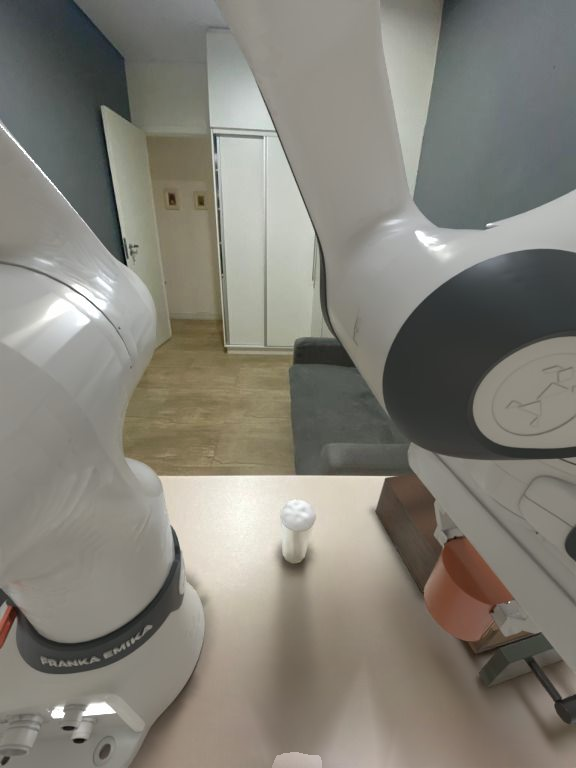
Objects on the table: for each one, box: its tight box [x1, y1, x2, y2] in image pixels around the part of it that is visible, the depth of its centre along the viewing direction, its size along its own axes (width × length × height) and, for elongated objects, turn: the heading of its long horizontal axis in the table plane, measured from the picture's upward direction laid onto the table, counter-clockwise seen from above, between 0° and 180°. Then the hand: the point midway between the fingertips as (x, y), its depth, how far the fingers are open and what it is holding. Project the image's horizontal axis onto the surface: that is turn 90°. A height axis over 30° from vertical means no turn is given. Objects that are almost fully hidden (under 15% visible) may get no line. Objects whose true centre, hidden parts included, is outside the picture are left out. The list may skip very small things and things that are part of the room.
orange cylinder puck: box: [423, 538, 514, 642], centre depth 27 cm, size 6×6×6 cm
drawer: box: [466, 598, 576, 725], centre depth 34 cm, size 16×12×6 cm
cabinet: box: [375, 472, 467, 593], centre depth 45 cm, size 13×14×8 cm
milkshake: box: [279, 498, 317, 565], centre depth 41 cm, size 4×5×10 cm
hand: (471, 579), depth 27 cm, fingers closed on orange cylinder puck, 5 cm apart
